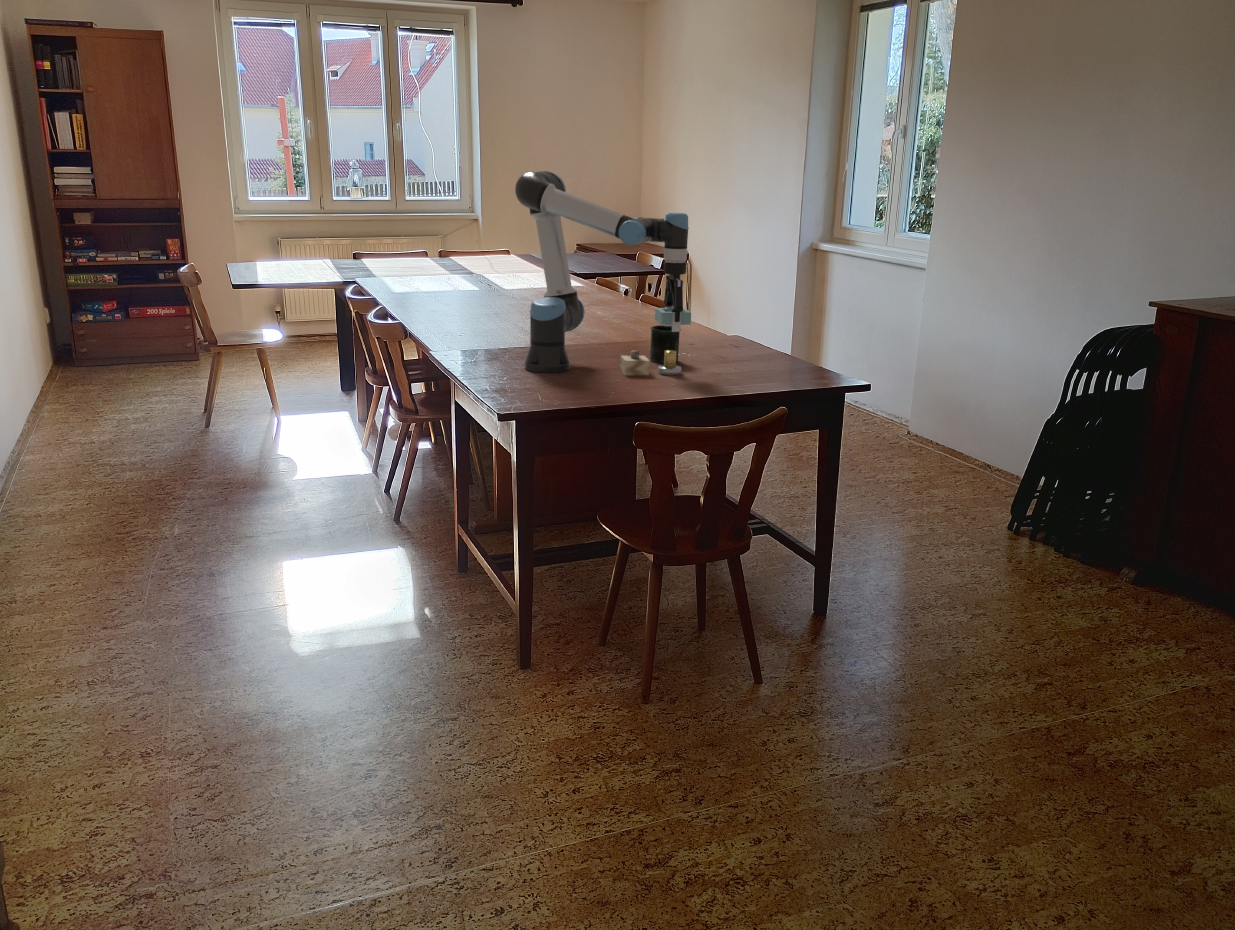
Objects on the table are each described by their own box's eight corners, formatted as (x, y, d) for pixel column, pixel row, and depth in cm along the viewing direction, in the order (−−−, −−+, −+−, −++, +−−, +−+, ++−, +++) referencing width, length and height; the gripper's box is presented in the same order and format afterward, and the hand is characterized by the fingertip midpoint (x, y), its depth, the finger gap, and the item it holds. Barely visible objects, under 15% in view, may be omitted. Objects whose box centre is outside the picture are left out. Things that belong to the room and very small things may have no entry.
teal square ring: (661, 324, 311) (661, 312, 310) (654, 319, 320) (655, 307, 319) (690, 324, 313) (691, 312, 311) (683, 319, 322) (684, 307, 321)
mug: (658, 365, 333) (659, 331, 330) (639, 357, 346) (640, 324, 342) (684, 363, 338) (686, 330, 334) (665, 355, 350) (666, 323, 347)
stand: (624, 375, 316) (625, 353, 314) (620, 369, 324) (620, 348, 322) (649, 375, 318) (650, 353, 315) (644, 369, 325) (644, 348, 323)
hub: (660, 375, 317) (661, 353, 315) (655, 370, 325) (656, 349, 323) (683, 375, 319) (684, 353, 316) (678, 370, 326) (679, 348, 324)
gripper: (694, 265, 300) (691, 334, 307) (678, 257, 321) (675, 323, 328) (671, 265, 299) (668, 334, 306) (656, 257, 320) (654, 323, 327)
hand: (672, 328), depth 317 cm, fingers closed on teal square ring, 10 cm apart
